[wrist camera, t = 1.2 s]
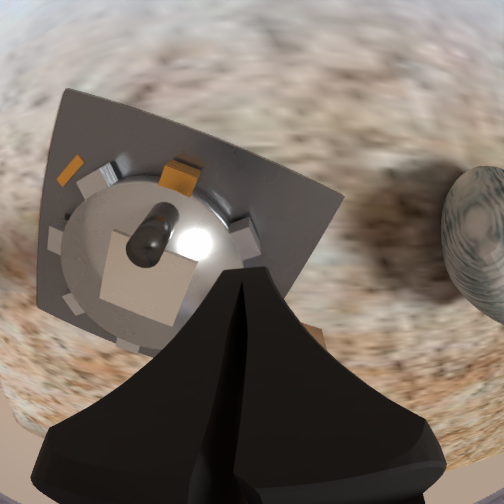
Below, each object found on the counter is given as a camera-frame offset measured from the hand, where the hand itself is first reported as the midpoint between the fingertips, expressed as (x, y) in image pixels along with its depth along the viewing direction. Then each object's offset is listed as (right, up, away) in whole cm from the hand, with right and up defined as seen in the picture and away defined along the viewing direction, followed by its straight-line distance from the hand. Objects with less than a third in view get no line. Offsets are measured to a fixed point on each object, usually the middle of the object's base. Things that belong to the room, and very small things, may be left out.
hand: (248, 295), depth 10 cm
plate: (-6, +1, +11) cm, 13 cm away
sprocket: (-6, +1, +11) cm, 13 cm away
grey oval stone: (+18, +3, +10) cm, 21 cm away
